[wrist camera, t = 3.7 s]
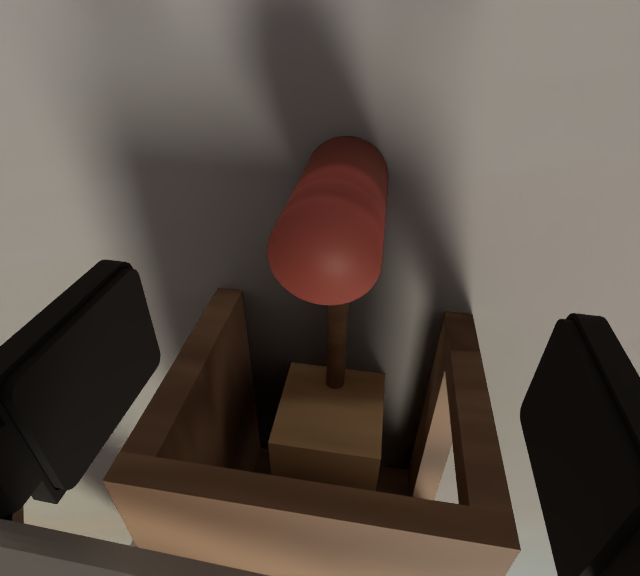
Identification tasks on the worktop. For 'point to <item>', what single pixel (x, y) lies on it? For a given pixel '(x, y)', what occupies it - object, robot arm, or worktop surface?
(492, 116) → the worktop surface
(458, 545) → the open wooden crate
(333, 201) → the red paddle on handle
